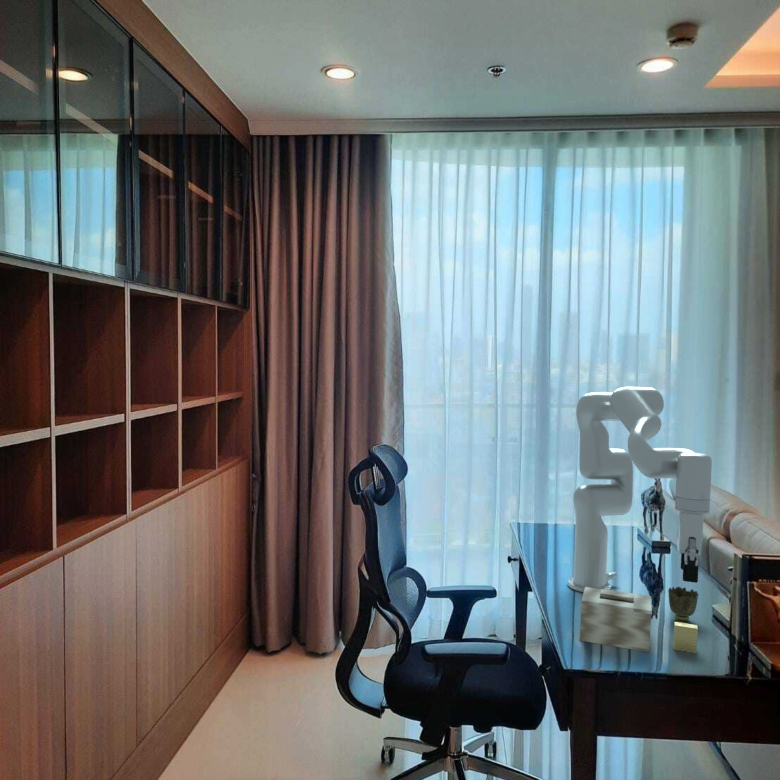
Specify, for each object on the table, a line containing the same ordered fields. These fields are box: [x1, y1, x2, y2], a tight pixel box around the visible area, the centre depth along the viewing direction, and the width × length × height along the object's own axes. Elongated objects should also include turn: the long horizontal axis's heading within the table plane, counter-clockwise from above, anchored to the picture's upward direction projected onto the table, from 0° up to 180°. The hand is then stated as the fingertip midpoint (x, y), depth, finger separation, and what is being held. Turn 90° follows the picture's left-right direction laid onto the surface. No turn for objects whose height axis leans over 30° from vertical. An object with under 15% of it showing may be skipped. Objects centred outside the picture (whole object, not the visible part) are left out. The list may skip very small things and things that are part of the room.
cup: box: [668, 586, 699, 623], centre depth 182 cm, size 8×7×8 cm
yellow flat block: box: [672, 621, 699, 654], centre depth 163 cm, size 5×2×6 cm, turn 69°
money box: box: [579, 587, 652, 653], centre depth 168 cm, size 16×11×10 cm
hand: (688, 575), depth 162 cm, fingers open, 9 cm apart
